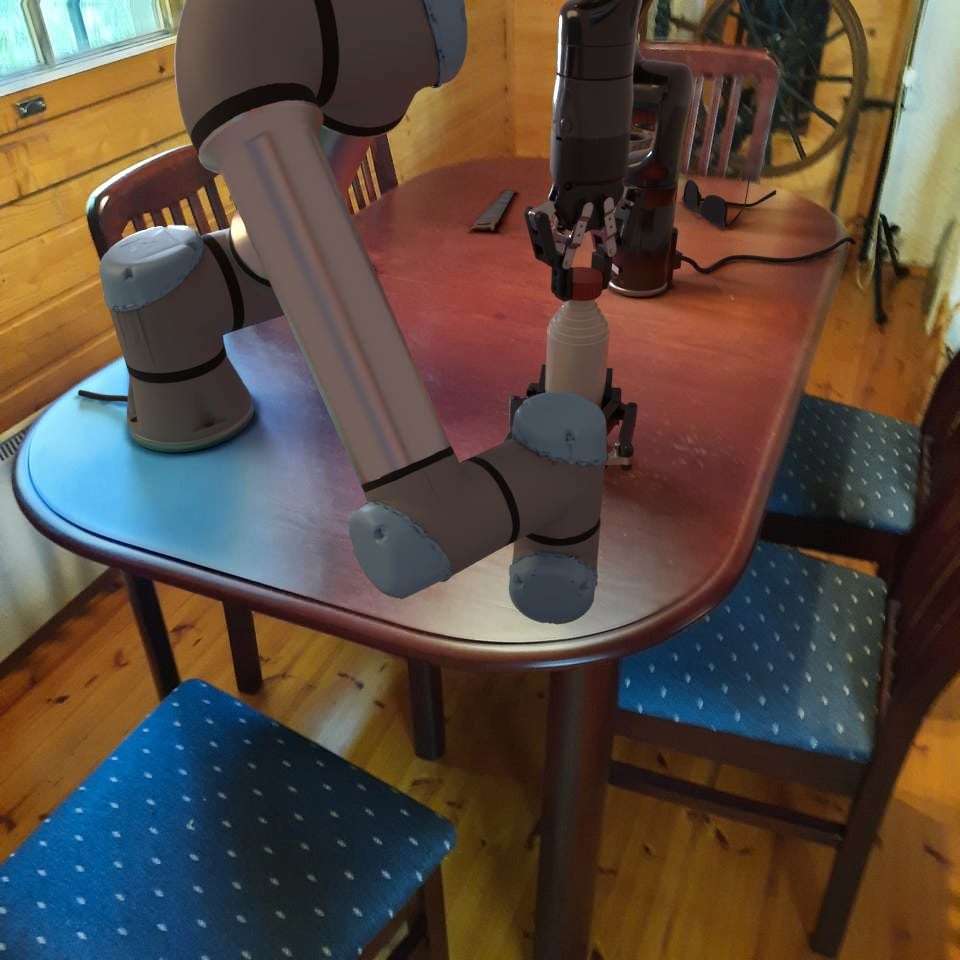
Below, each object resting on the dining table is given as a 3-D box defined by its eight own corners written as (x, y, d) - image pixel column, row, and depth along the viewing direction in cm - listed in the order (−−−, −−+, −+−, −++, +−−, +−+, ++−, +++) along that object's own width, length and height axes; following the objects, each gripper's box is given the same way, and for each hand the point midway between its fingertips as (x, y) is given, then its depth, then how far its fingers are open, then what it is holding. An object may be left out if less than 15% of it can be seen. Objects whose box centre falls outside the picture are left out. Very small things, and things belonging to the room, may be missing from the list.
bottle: (562, 466, 99) (571, 299, 86) (532, 437, 104) (536, 275, 91) (611, 450, 101) (627, 286, 89) (579, 422, 106) (590, 263, 94)
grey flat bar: (493, 190, 178) (493, 187, 178) (515, 191, 177) (515, 188, 177) (468, 231, 159) (468, 228, 159) (493, 232, 158) (493, 229, 158)
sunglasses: (787, 221, 160) (792, 194, 157) (718, 230, 157) (722, 203, 154) (740, 193, 173) (744, 168, 170) (675, 201, 170) (678, 176, 167)
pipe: (587, 172, 186) (589, 134, 181) (645, 169, 187) (649, 131, 182) (593, 181, 181) (595, 142, 176) (652, 178, 182) (656, 139, 177)
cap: (561, 282, 93) (561, 265, 92) (602, 284, 92) (603, 267, 91) (558, 300, 89) (559, 282, 88) (601, 302, 89) (602, 284, 88)
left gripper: (465, 513, 88) (495, 397, 106) (661, 529, 85) (657, 407, 104) (462, 453, 83) (494, 343, 102) (669, 468, 81) (664, 352, 99)
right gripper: (623, 105, 86) (610, 266, 96) (506, 127, 80) (505, 296, 90) (675, 121, 81) (655, 289, 91) (553, 145, 75) (547, 323, 85)
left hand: (576, 376), depth 103 cm, fingers closed on bottle, 7 cm apart
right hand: (580, 292), depth 91 cm, fingers closed on cap, 4 cm apart
